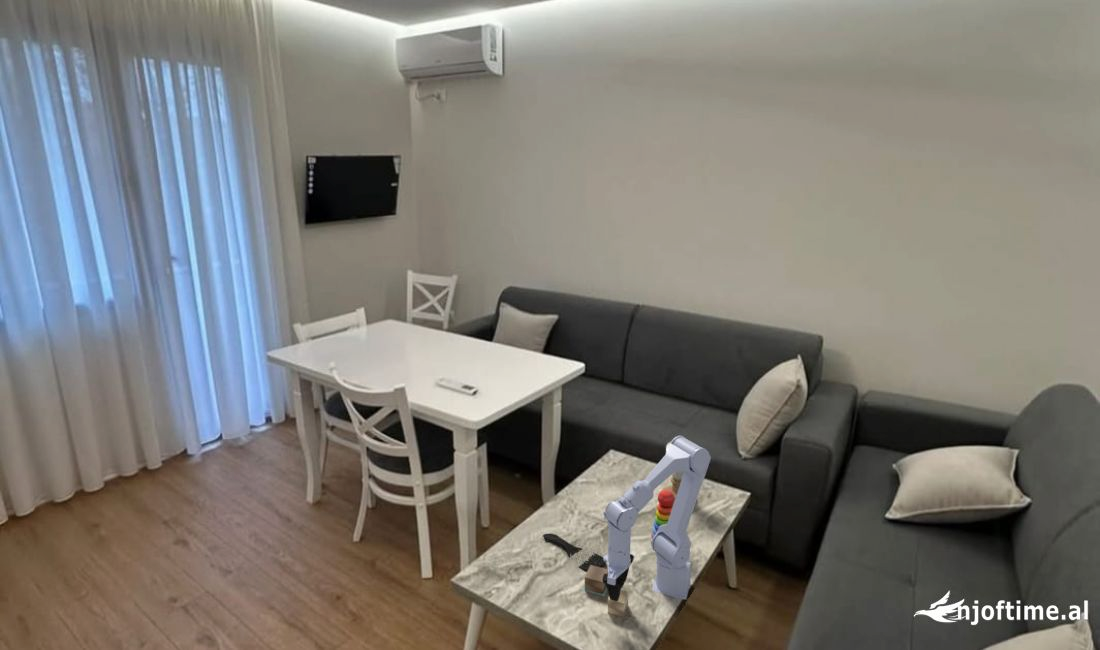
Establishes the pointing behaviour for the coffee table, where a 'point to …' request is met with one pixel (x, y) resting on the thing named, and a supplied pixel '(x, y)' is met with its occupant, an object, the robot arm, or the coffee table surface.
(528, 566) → the coffee table surface
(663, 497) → the stacking toy
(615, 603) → the birch block
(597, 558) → the hairbrush
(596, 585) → the walnut block
